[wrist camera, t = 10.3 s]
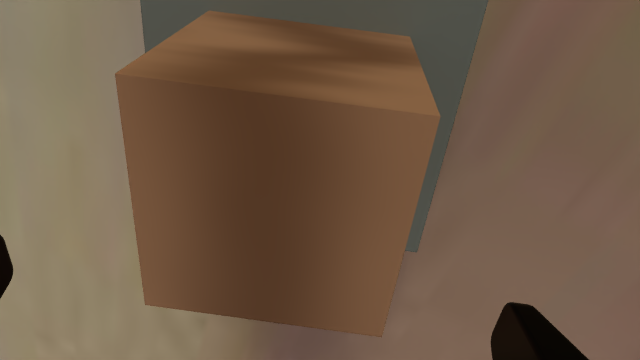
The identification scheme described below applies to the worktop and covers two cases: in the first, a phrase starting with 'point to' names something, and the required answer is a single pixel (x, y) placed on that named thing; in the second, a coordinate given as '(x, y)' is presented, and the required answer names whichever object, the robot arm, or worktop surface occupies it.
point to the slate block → (368, 15)
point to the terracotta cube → (276, 168)
